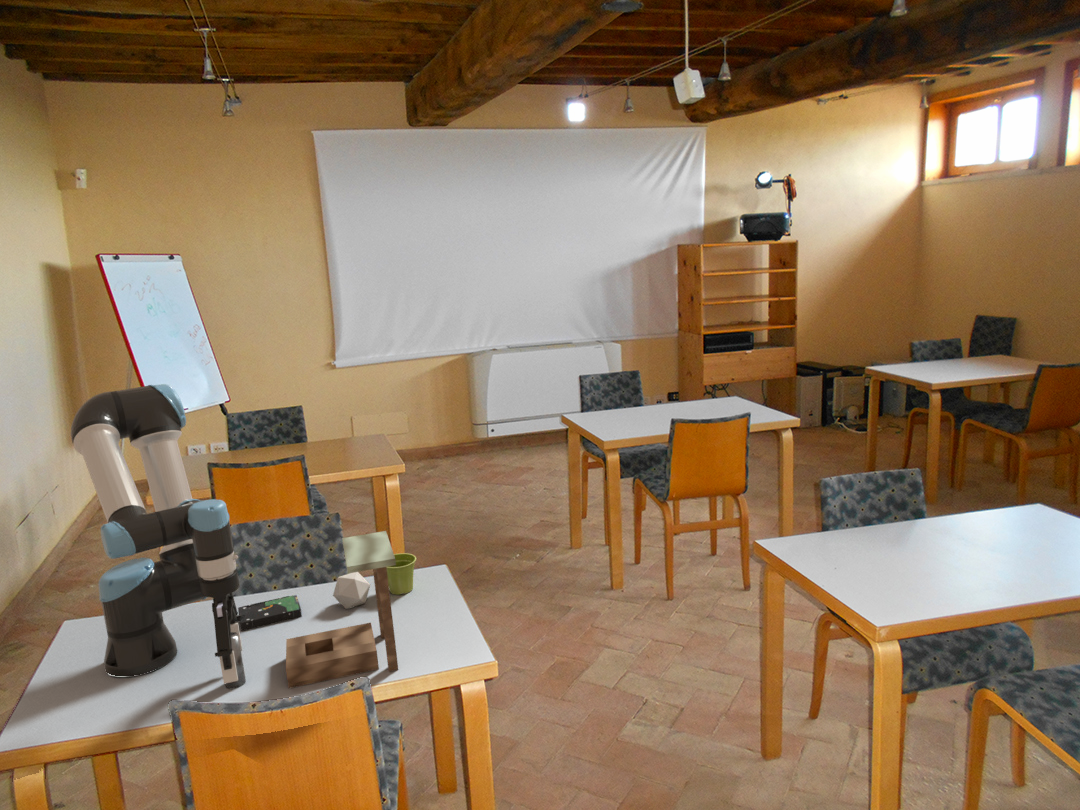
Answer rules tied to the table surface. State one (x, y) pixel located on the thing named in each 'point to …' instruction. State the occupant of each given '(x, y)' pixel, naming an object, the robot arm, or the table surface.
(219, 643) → the robot arm
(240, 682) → the peg
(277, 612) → the disk drive
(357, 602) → the die
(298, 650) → the socket stand
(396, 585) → the plant pot
